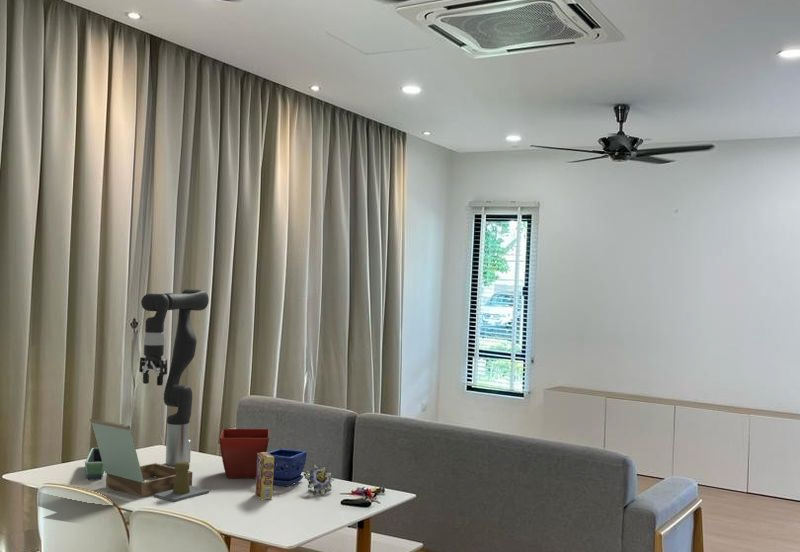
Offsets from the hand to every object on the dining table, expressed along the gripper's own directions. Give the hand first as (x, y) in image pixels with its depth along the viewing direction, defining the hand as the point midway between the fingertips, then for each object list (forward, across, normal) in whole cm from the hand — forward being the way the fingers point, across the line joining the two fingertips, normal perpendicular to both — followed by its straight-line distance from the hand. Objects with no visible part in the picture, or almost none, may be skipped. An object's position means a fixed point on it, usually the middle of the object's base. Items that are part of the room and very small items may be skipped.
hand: (152, 384), depth 304 cm
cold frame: (+36, -13, +10) cm, 40 cm away
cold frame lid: (+20, -13, +24) cm, 34 cm away
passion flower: (+36, -66, -25) cm, 79 cm away
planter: (+37, +20, +10) cm, 43 cm away
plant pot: (+36, -27, -25) cm, 52 cm away
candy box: (+36, -56, -7) cm, 67 cm away
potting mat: (+36, -32, +10) cm, 49 cm away
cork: (+36, -31, +10) cm, 48 cm away
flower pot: (+36, -48, -26) cm, 66 cm away
